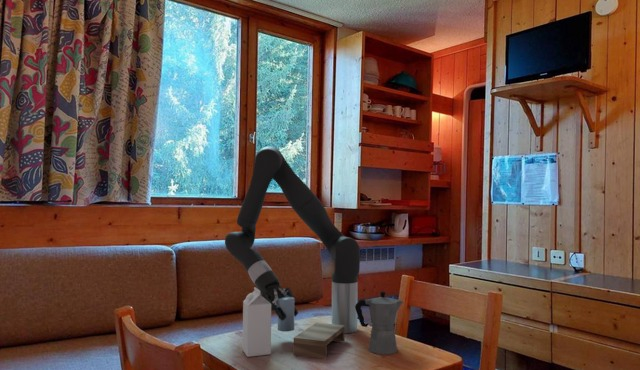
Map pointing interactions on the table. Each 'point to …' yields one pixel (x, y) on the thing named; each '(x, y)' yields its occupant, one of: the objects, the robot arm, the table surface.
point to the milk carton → (256, 325)
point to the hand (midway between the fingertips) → (290, 316)
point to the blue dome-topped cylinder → (288, 309)
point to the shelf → (317, 339)
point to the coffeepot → (381, 323)
